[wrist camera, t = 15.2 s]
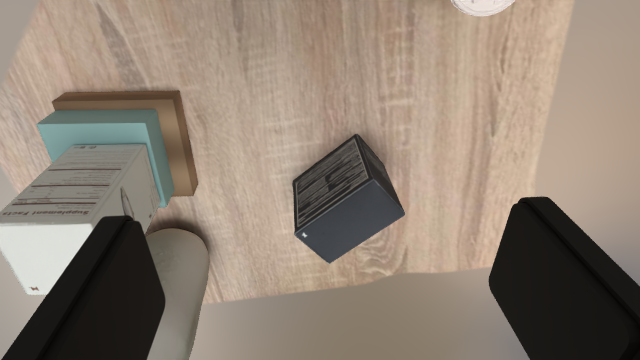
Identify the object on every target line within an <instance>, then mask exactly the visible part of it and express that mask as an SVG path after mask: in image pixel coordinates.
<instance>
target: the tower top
mask: <svg viewBox="0 0 640 360" xmlns="http://www.w3.org/2000/svg"><path fill="white" fill-rule="evenodd" d="M36 125H37V127H38V129H39V132H40V134H41V137H42V139H43V141H44V144H45V146H46V149H47V151H48V153H49V156H50V158H51V161H52V163H53V162H54V161H55V160H57V159H58V158H59V157H60V156H61V155H62V154H63V153H64V152H65V151H67V150H68V149H69V148H70V147H71V146H72V145H112V144H115V145H116V144H145V145H146V147H147V152H148V157H149V161H150V165H151V169H152V173H153V177H154V181H155V185H156V188H157V191H158V194H159V197H160V200H161V203H160V205H159V207H167V205H168V203H169V201H170V199H171V197H172V194H173V192H174V190H175V189H174V184H173V180H172V175H171V171H170V167H169V162H168V158H167V154H166V149H165V145H164V141H163V136H162V132H161V128H160V123H159V119H158V114H157V110H156V109H149V110H56V111H55V112H53V113H52V114H50V115H49V116H47V117H46V118H45V119H43V120H42V121H40V122H39V123H37V124H36Z"/></svg>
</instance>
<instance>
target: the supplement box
mask: <svg viewBox="0 0 640 360" xmlns="http://www.w3.org/2000/svg"><path fill="white" fill-rule="evenodd" d="M160 203H161V200H160V197H159V194H158V191H157V188H156V185H155V181H154V177H153V173H152V169H151V165H150V161H149V157H148V152H147V147H146V145H145V144H116V145H115V144H112V145H72V146H71V147H70V148H69V149H68V150H67V151H65V152H64V153H63V154H62V155H61V156H60V157H59V158H58V159H57V160H55V161H54V162H53V163H52V164H51V165H50V166H49V167H48V168H47V169H46V170H45V171H44V172H43V173H42V174H40V175H39V176H38V177H37V178H36V179H35V180H34V181H33V182H32V183H31V184H30V185H29V186H28V187H27V188H25V189H24V190H23V191H22V192H21V193H20V194H19V195H18V196H17V197H16V198H15V199H14V200H13V201H12V202H11V203H10V204H8V205H7V206H6V207H5V208H4V209H3V210H2V211H1V212H0V251H1V252H2V254H3V256H4V257H5V259H6V261H7V263H8V264H9V266H10V267H11V269H12V271H13V272H14V274H15V275H16V277H17V278H18V280H19V282H20V284H21V286H22V287H23V289H24V291H25V293H26V294H28V295H44V294H48V293H49V291H50V290H51V289H52V287H53V286H54V284H55V283H56V281H57V280H58V279H59V277H60V276H61V274H62V273H63V272H64V270H65V269H66V267H67V266H68V264H69V263H70V262H71V260H72V259H73V257H74V256H75V255H76V253H77V252H78V250H79V249H80V247H81V246H82V245H83V243H84V242H85V240H86V239H87V238H88V236H89V235H90V233H91V232H92V230H93V229H94V228H95V226H96V225H97V223H98V222H99V220H100V219H101V218H102V217H105V216H121V215H129V216H131V217H132V218H133V220H134V221H139V222H140V223H141V226H142V229H143V232H144V234H145V233H146V231H147V229H148V227H149V225H150V223H151V221H152V219H153V217H154V215H155V213H156V211H157V209H158V207H159V205H160Z"/></svg>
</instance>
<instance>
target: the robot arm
mask: <svg viewBox="0 0 640 360" xmlns="http://www.w3.org/2000/svg"><path fill="white" fill-rule="evenodd" d="M489 286H490V290H491V292H492V294H493V296H494V297H495V299H496V301H497V302H498V304H499V306H500V308H501V310H502V311H503V313H504V315H505V317H506V318H507V320H508V322H509V324H510V325H511V327H512V329H513V331H514V332H515V334H516V336H517V337H518V339H519V341H520V343H521V344H522V346H523V348H524V350H525V351H526V353H527V355H528V357H529V358H530V360H640V286H639V285H638V284H637V283H636V282H635V281H634V280H633V279H632V278H631V277H630V276H629V275H627V273H625V272H624V271H623V270H622V269H621V268H620V267H619V266H618V265H617V264H616V263H615V262H614V261H613V260H612V259H611V258H610V257H609V256H608V255H607V254H606V253H605V252H604V251H603V250H602V249H601V248H600V247H599V246H598V245H597V244H596V243H595V242H594V241H593V240H592V239H591V238H590V237H589V236H588V235H587V234H586V233H584V231H583V230H582V229H581V228H580V227H579V226H578V225H577V224H575V223H574V222H573V221H572V220H571V219H570V218H569V217H568V216H567V215H566V214H565V213H564V212H563V211H562V210H561V209H560V208H559V207H558V206H557V205H556V204H555V203H554V202H553V201H552V200H551V199H550V198H548V197H524V198H521V199H520V200H519V201H518V203H516V204H514V205H513V206H512V208H511V211H510V214H509V217H508V220H507V224H506V227H505V230H504V233H503V236H502V239H501V242H500V245H499V248H498V251H497V254H496V258H495V261H494V264H493V267H492V270H491V273H490V276H489ZM165 302H166V300H165V294H164V291H163V288H162V285H161V282H160V279H159V276H158V273H157V270H156V267H155V264H154V261H153V258H152V255H151V252H150V249H149V246H148V243H147V240H146V237H145V234H144V232H143V229H142V226H141V223H140V222H139V221H134V220H133V218H132V217H131V216H129V215H121V216H105V217H102V218H101V219H100V220H99V222H98V223H97V225H96V226H95V228H94V229H93V230H92V232H91V233H90V235H89V236H88V238H87V239H86V240H85V242H84V243H83V245H82V246H81V247H80V249H79V250H78V252H77V253H76V255H75V256H74V257H73V259H72V260H71V262H70V263H69V264H68V266H67V267H66V269H65V270H64V272H63V273H62V274H61V276H60V277H59V279H58V280H57V281H56V283H55V284H54V286H53V287H52V289H51V290H50V291H49V293H48V294H47V296H46V297H45V299H44V300H43V301H42V303H41V304H40V306H39V307H38V308H37V310H36V311H35V313H34V314H33V316H32V317H31V318H30V320H29V321H28V323H27V324H26V325H25V327H24V328H23V330H22V331H21V332H20V334H19V335H18V337H17V338H16V340H15V341H14V343H13V344H12V345H11V347H10V348H9V349H8V351H7V353H6V354H5V355H4V357H3V358H2V359H1V360H147V358H148V355H149V352H150V349H151V346H152V344H153V341H154V338H155V335H156V332H157V329H158V327H159V324H160V321H161V318H162V315H163V312H164V309H165Z"/></svg>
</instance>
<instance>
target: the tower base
mask: <svg viewBox="0 0 640 360" xmlns="http://www.w3.org/2000/svg"><path fill="white" fill-rule="evenodd" d="M52 104H53V106H54V109H55V111H56V110H149V109H156V110H157V114H158V119H159V123H160V128H161V132H162V136H163V141H164V145H165V149H166V154H167V158H168V162H169V167H170V171H171V175H172V180H173V184H174V189H175V190H174V192H173V194H172V197H174V196H193V195H194V193H195V190H196V188H197V185H198V180H197V175H196V170H195V165H194V160H193V155H192V150H191V145H190V140H189V135H188V130H187V125H186V120H185V115H184V110H183V105H182V100H181V95H180V91H137V92H78V93H64V94H63V95H61V96H60V97H58V98H57V99H55V100H54V101H52Z"/></svg>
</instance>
